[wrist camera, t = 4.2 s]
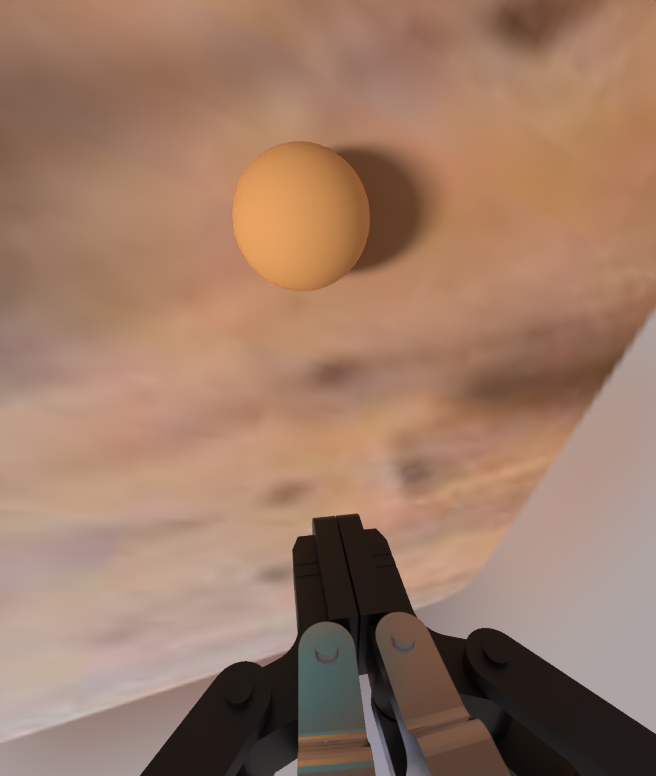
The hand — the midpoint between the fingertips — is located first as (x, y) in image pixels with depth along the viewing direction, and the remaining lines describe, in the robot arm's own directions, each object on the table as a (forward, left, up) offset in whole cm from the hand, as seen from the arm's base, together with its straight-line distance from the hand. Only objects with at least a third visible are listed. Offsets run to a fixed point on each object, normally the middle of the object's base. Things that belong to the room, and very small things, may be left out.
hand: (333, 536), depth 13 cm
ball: (0, +9, -6) cm, 11 cm away
